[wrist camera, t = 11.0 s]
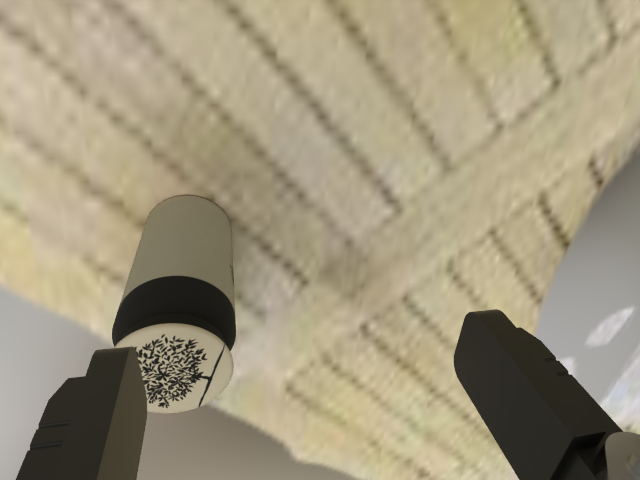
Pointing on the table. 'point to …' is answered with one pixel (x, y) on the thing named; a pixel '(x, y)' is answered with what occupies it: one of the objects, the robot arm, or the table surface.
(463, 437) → the table surface
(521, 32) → the table surface
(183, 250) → the travel mug
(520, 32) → the table surface
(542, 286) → the table surface
